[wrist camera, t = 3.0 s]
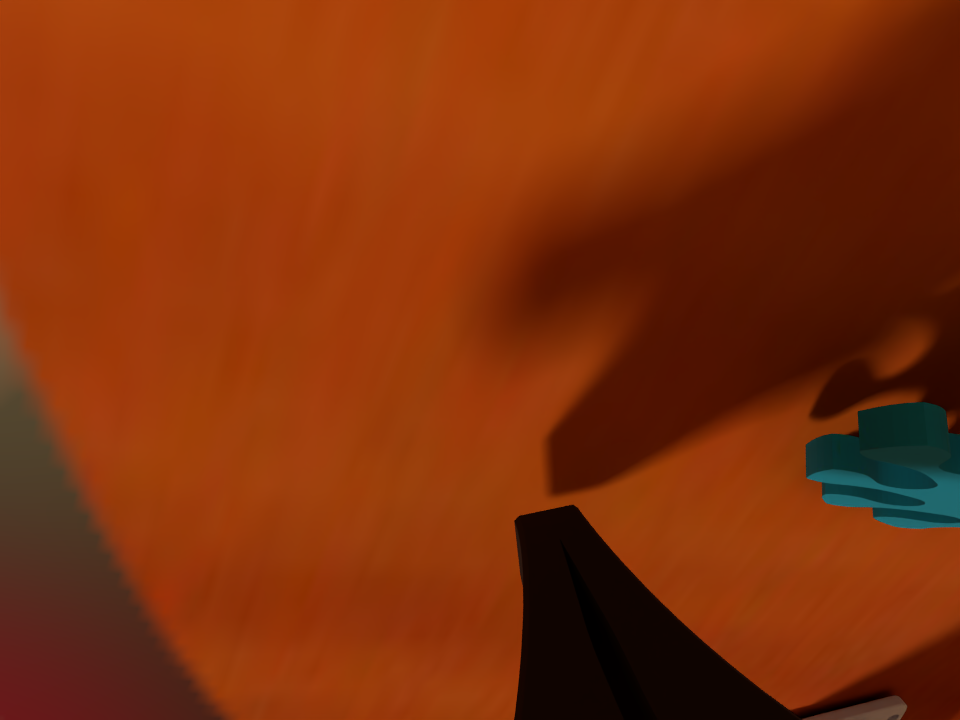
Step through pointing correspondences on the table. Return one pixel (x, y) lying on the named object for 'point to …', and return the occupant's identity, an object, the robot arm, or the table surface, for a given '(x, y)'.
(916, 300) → the table surface
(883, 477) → the teal cogwheel
